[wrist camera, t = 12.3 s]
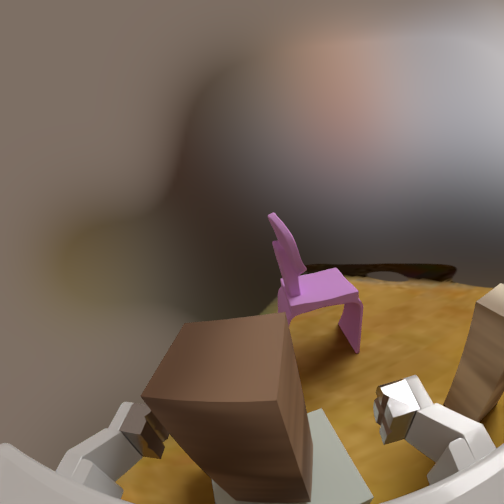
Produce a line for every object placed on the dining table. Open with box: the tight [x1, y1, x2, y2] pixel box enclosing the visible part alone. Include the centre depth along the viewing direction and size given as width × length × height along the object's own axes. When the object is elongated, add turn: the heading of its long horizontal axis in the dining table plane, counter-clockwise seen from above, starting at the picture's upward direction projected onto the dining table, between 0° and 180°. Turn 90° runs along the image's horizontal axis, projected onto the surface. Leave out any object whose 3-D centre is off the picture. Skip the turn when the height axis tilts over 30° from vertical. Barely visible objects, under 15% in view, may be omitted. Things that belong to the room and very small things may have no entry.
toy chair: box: [268, 213, 363, 353], centre depth 26 cm, size 8×9×15 cm
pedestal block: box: [212, 408, 374, 504], centre depth 12 cm, size 8×8×4 cm
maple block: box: [444, 283, 504, 422], centre depth 12 cm, size 4×4×10 cm
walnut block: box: [141, 312, 313, 503], centre depth 10 cm, size 4×4×10 cm
